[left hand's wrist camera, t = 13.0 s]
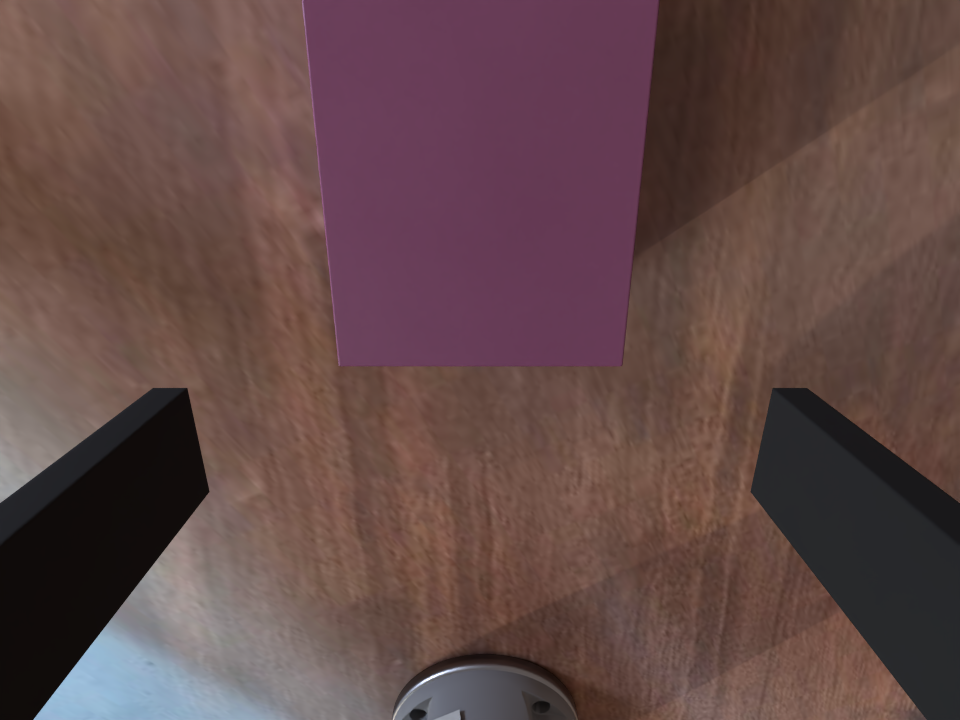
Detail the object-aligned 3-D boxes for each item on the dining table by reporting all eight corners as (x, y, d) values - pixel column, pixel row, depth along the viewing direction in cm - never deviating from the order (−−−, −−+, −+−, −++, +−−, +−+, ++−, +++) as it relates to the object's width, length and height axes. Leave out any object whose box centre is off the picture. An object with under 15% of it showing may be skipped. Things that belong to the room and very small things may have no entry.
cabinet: (355, -110, 26) (272, -280, 15) (605, -110, 26) (688, -279, 15) (382, 296, 33) (338, 367, 22) (577, 296, 33) (622, 367, 22)
